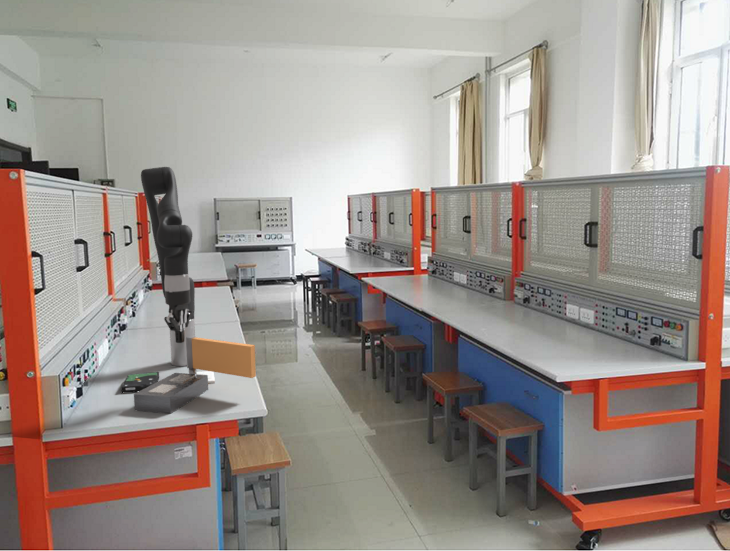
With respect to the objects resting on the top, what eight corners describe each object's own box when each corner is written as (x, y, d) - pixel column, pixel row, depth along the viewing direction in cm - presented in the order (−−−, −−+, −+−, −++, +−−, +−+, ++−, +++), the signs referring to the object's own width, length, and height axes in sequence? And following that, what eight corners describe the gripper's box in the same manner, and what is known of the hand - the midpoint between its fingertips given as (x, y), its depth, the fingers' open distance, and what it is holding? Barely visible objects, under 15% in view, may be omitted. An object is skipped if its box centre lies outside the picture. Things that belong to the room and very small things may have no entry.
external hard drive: (213, 374, 208) (215, 384, 197) (189, 376, 206) (189, 387, 194) (213, 370, 208) (214, 380, 196) (189, 372, 206) (189, 382, 194)
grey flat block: (175, 387, 192) (174, 371, 192) (208, 389, 190) (207, 373, 189) (134, 410, 171) (133, 392, 171) (170, 413, 168) (169, 395, 168)
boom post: (192, 386, 193) (191, 367, 193) (198, 386, 193) (197, 367, 192) (188, 388, 191) (187, 369, 190) (194, 388, 191) (193, 369, 190)
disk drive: (154, 392, 189) (159, 378, 204) (154, 384, 189) (159, 371, 203) (121, 395, 187) (128, 381, 201) (120, 387, 187) (127, 373, 201)
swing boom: (185, 367, 190) (183, 338, 189) (192, 365, 193) (190, 336, 192) (250, 378, 178) (249, 347, 177) (257, 375, 181) (255, 344, 180)
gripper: (178, 285, 189) (180, 337, 191) (154, 291, 176) (157, 347, 178) (198, 285, 187) (201, 338, 189) (176, 292, 174) (179, 348, 176)
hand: (180, 342), depth 184 cm, fingers closed
